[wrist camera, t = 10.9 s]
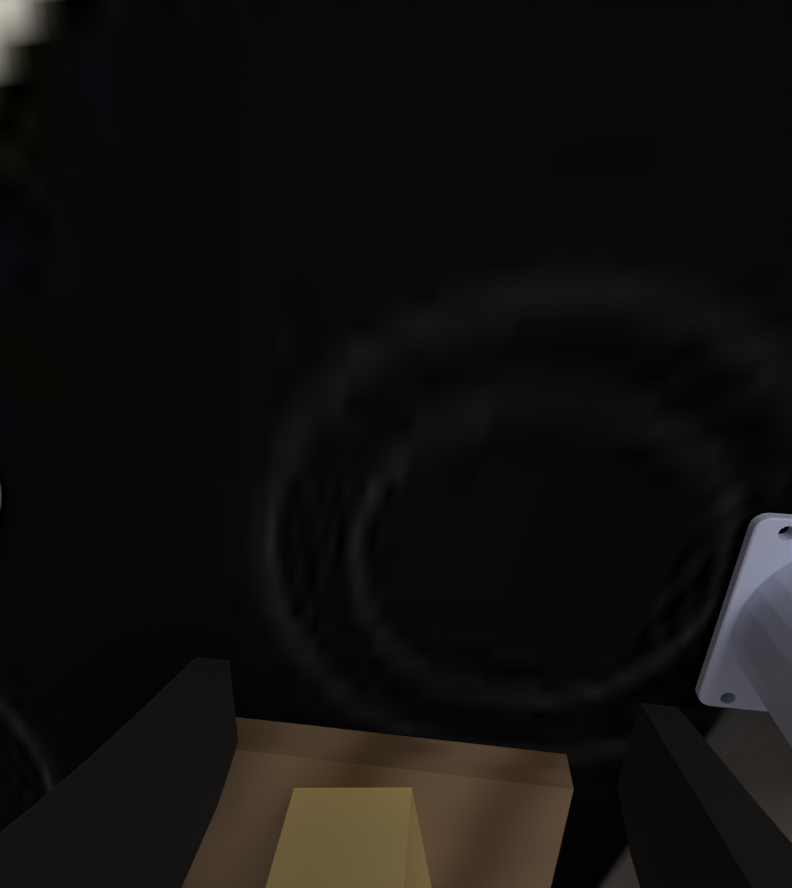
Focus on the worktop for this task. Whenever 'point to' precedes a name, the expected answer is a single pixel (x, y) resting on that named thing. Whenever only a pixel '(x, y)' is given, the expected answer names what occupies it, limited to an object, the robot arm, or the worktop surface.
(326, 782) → the shelf board
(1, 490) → the pill bottle
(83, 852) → the robot arm
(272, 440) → the worktop surface
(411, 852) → the box
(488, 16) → the worktop surface
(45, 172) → the worktop surface
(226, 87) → the worktop surface
